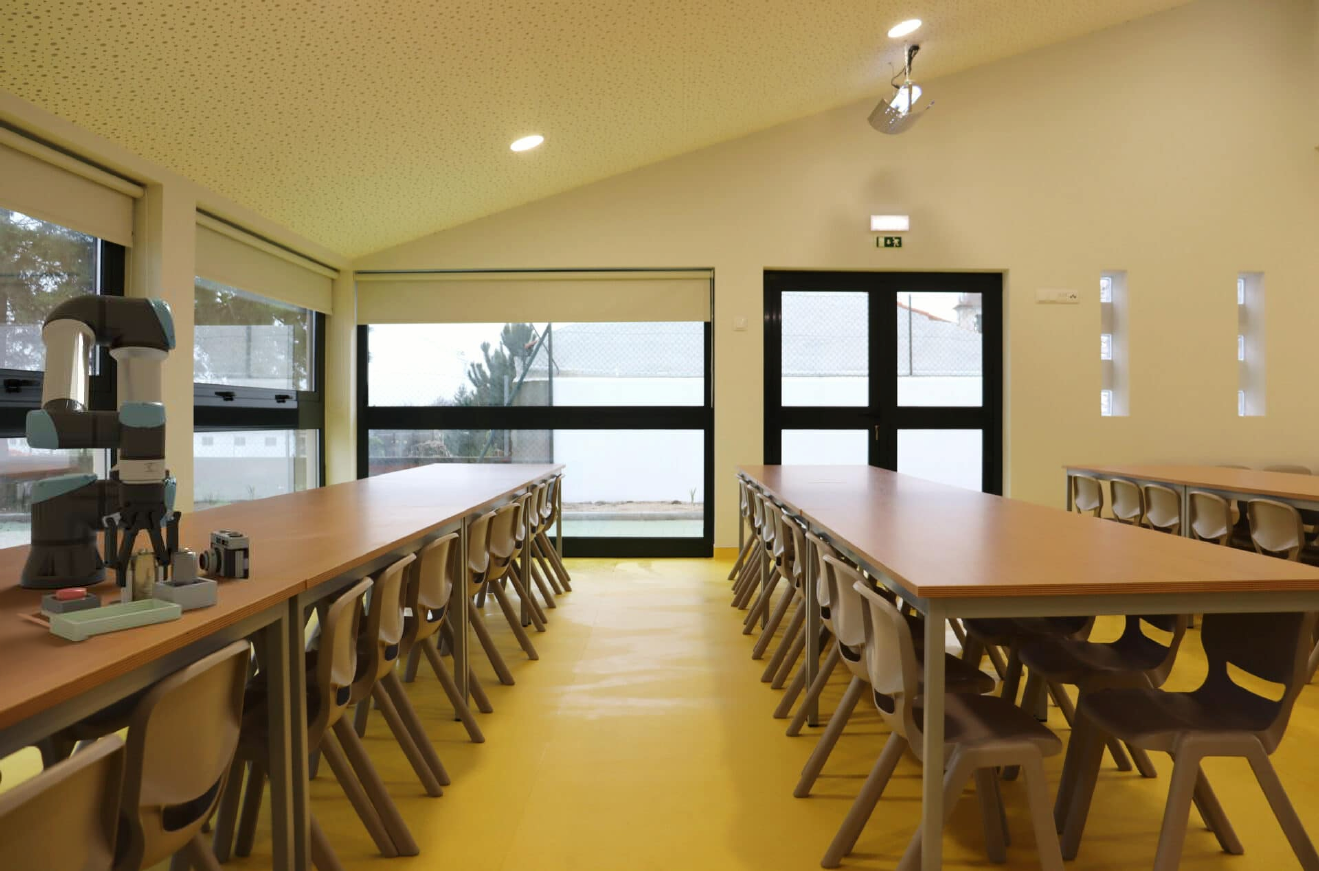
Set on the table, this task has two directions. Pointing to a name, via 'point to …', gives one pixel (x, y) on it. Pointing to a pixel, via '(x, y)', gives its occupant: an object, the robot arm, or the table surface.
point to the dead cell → (184, 568)
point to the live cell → (142, 574)
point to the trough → (112, 618)
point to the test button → (70, 593)
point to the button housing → (68, 604)
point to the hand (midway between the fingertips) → (142, 600)
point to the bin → (187, 593)
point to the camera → (227, 555)
